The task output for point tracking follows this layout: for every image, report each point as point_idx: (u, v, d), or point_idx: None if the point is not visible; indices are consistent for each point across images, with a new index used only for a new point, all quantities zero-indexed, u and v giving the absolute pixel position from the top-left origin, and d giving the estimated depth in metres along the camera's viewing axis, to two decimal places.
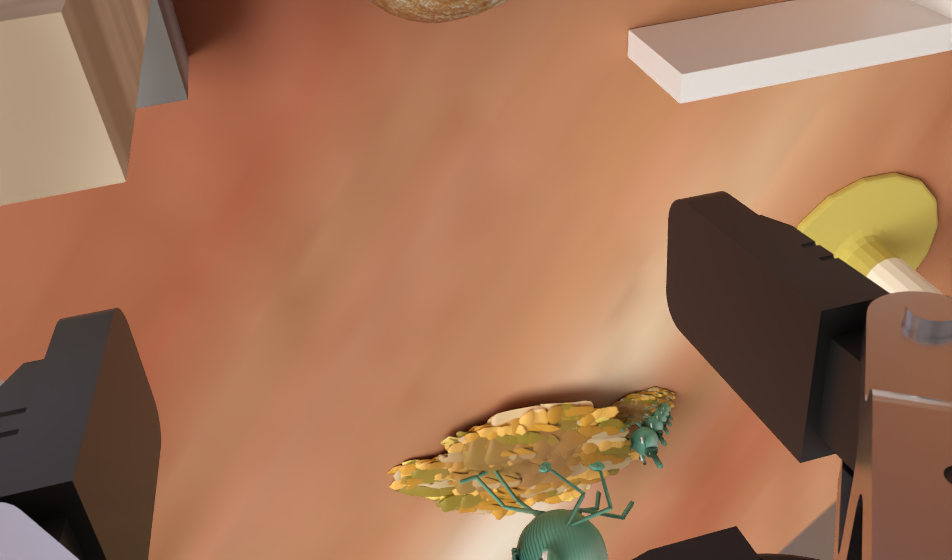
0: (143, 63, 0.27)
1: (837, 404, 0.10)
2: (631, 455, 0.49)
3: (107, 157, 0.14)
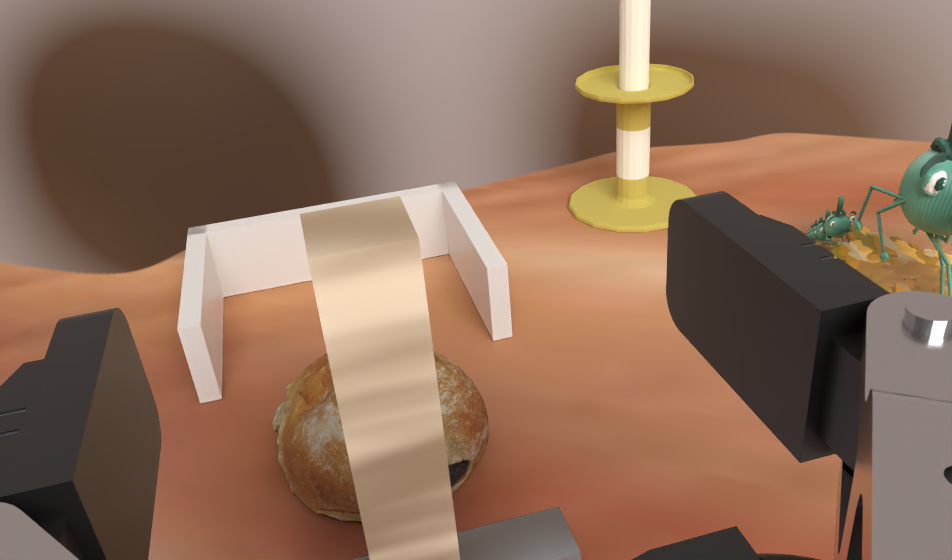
0: (531, 534, 0.31)
1: (837, 404, 0.10)
2: (866, 233, 0.54)
3: (383, 201, 0.25)
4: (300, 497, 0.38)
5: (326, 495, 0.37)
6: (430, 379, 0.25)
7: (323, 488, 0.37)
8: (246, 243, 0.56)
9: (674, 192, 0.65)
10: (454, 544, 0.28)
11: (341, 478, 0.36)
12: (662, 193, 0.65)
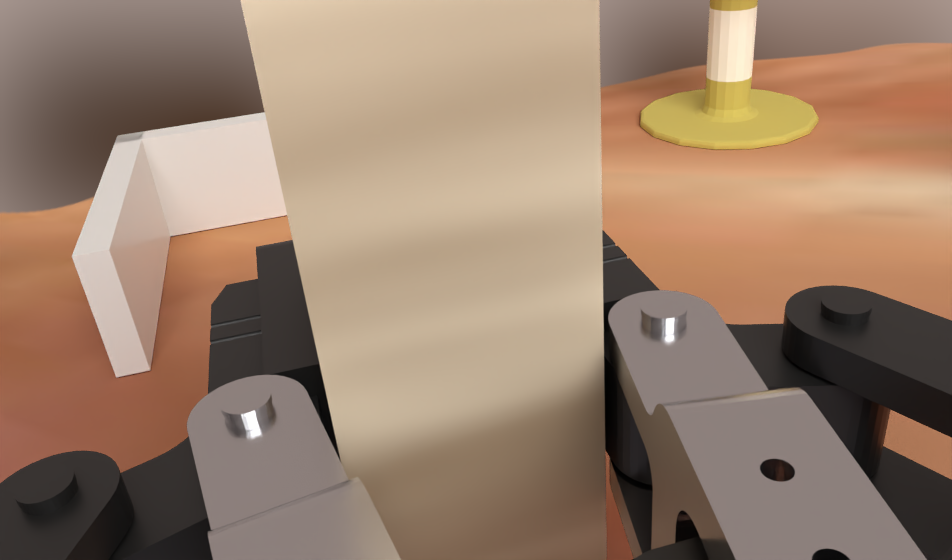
0: None
1: None
2: None
3: None
4: None
5: None
6: (583, 205, 0.08)
7: None
8: (200, 157, 0.39)
9: (782, 104, 0.49)
10: None
11: None
12: (765, 105, 0.49)
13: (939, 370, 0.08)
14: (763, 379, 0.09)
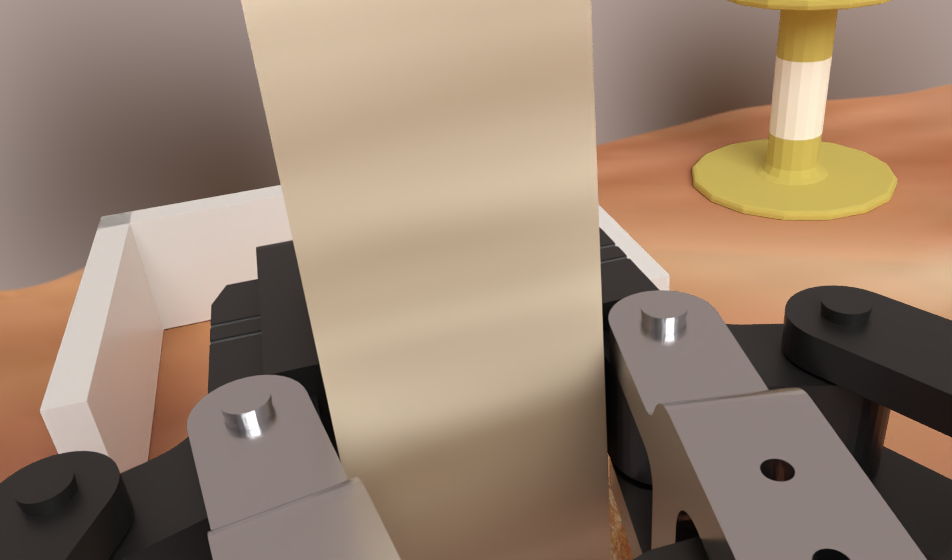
0: None
1: None
2: None
3: None
4: None
5: None
6: (579, 197, 0.08)
7: None
8: (198, 241, 0.34)
9: (852, 161, 0.43)
10: None
11: None
12: (834, 162, 0.43)
13: (939, 370, 0.08)
14: (763, 379, 0.09)
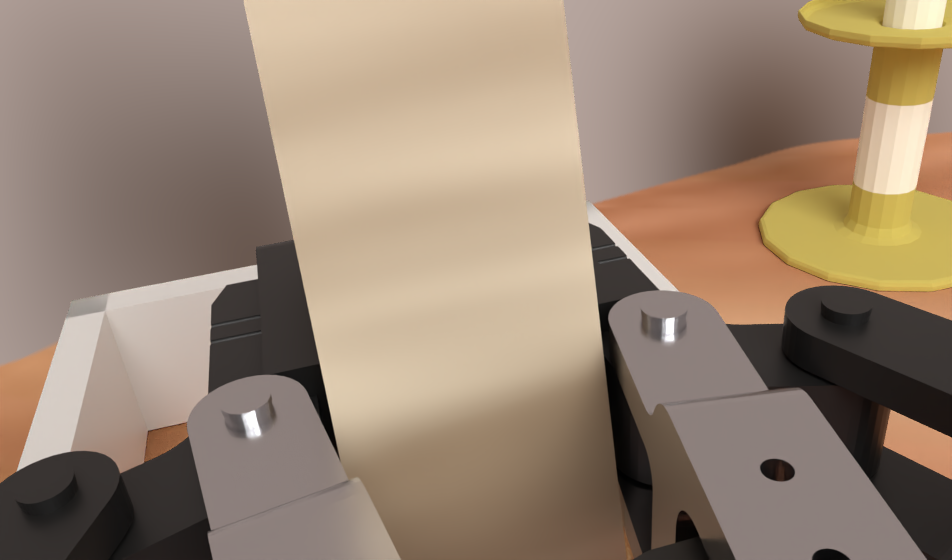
0: None
1: None
2: None
3: None
4: None
5: None
6: (564, 167, 0.09)
7: None
8: (189, 329, 0.28)
9: (947, 215, 0.38)
10: None
11: None
12: (925, 216, 0.38)
13: (939, 370, 0.08)
14: (763, 379, 0.09)
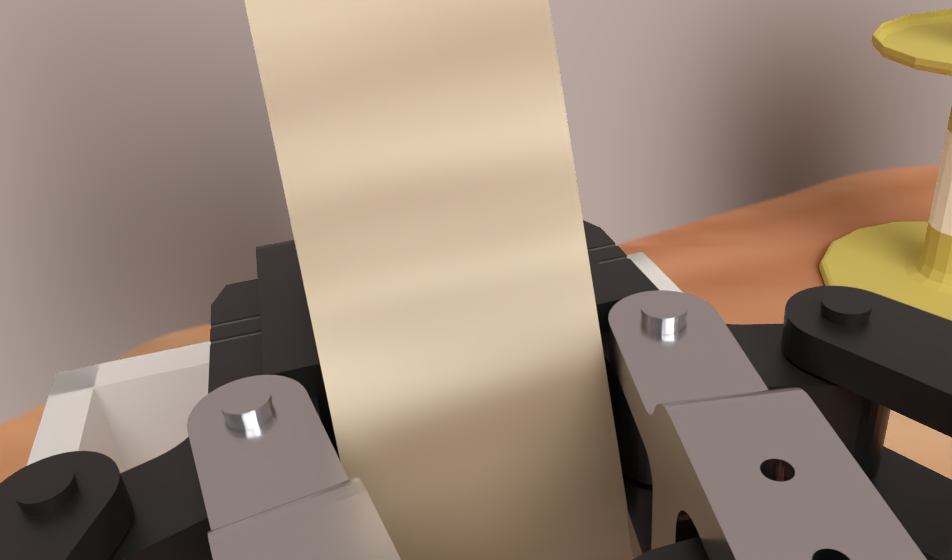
0: None
1: None
2: None
3: None
4: None
5: None
6: (554, 153, 0.09)
7: None
8: (190, 405, 0.24)
9: None
10: None
11: None
12: None
13: (939, 370, 0.08)
14: (763, 378, 0.09)
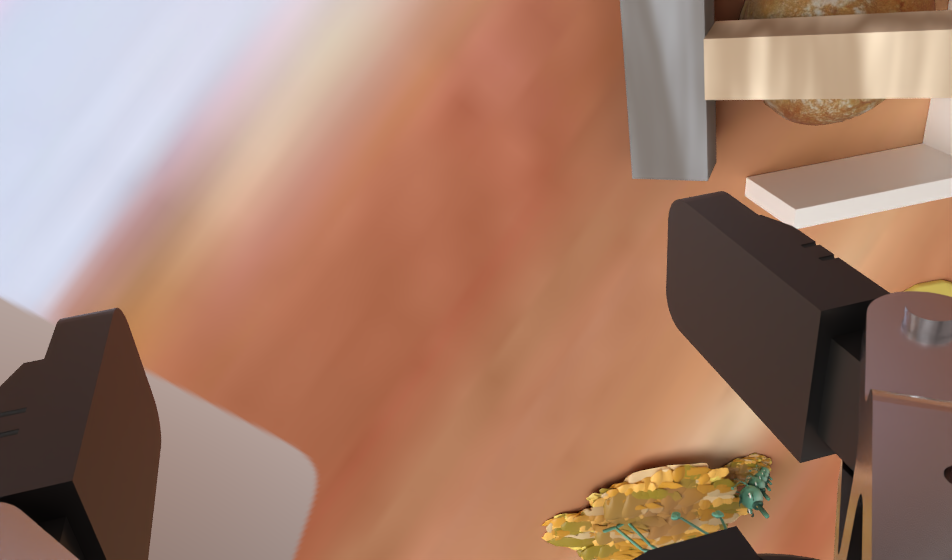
0: (712, 144, 0.44)
1: (837, 404, 0.10)
2: (738, 511, 0.60)
3: None
4: None
5: None
6: (919, 94, 0.37)
7: None
8: None
9: None
10: (754, 97, 0.40)
11: None
12: None
13: None
14: None
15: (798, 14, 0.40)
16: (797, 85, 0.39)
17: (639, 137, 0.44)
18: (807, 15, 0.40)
